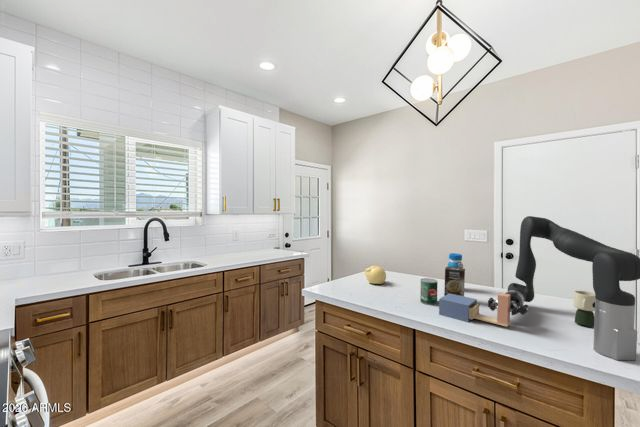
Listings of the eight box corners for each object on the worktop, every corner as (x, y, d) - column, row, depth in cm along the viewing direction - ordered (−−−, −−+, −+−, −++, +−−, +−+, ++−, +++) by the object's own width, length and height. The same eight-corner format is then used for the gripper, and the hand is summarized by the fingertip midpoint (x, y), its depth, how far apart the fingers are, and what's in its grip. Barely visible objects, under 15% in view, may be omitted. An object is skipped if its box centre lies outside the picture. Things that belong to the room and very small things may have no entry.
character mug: (596, 331, 114) (597, 298, 113) (571, 326, 119) (572, 294, 118) (597, 323, 121) (598, 292, 121) (574, 318, 126) (575, 288, 126)
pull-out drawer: (511, 321, 120) (512, 293, 120) (505, 328, 114) (506, 298, 114) (453, 307, 136) (454, 282, 136) (446, 312, 130) (446, 286, 130)
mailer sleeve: (476, 314, 131) (476, 299, 130) (468, 322, 123) (468, 305, 123) (448, 308, 139) (449, 293, 139) (439, 314, 131) (439, 298, 131)
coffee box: (443, 300, 150) (444, 268, 149) (445, 296, 156) (445, 266, 155) (463, 303, 146) (464, 270, 145) (464, 299, 151) (465, 268, 151)
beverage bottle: (447, 290, 166) (448, 255, 166) (446, 286, 175) (446, 252, 174) (464, 292, 164) (464, 255, 163) (461, 287, 172) (462, 253, 171)
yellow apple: (374, 279, 190) (374, 262, 190) (389, 283, 181) (389, 266, 180) (362, 282, 183) (362, 265, 183) (377, 287, 174) (377, 268, 173)
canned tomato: (422, 298, 153) (422, 277, 152) (438, 301, 149) (438, 279, 148) (418, 303, 146) (418, 281, 145) (435, 306, 142) (436, 283, 141)
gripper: (493, 288, 134) (482, 296, 122) (532, 295, 123) (524, 305, 112) (493, 305, 134) (481, 315, 122) (532, 313, 124) (523, 325, 112)
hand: (502, 310), depth 117 cm, fingers open, 6 cm apart
